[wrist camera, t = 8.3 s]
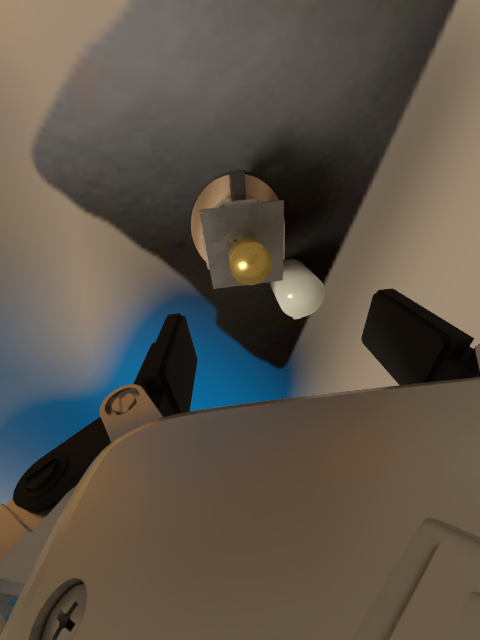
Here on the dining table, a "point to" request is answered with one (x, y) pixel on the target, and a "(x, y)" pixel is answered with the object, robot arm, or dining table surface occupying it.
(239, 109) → the dining table surface
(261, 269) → the plunger
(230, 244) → the grey handled container
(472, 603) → the robot arm
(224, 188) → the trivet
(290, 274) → the mug
